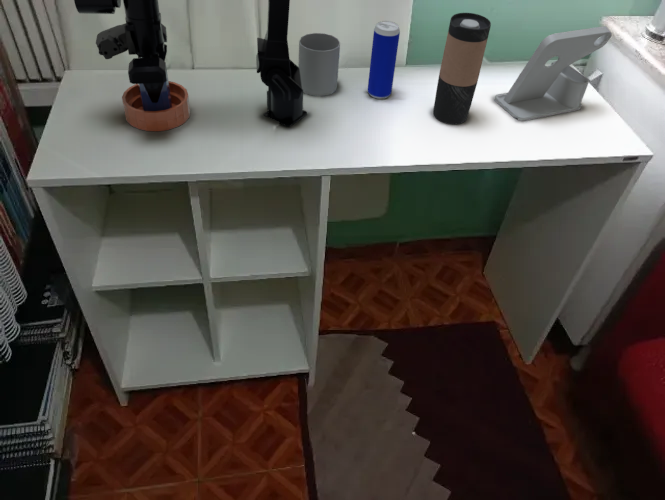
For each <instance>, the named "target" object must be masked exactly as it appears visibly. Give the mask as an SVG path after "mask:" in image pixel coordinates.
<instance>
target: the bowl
mask: <svg viewBox="0 0 665 500" xmlns="http://www.w3.org/2000/svg"><path fill="white" fill-rule="evenodd" d="M168 82H169V89H170V96H171V104H172V108H170V109H166V110H161V111H143V109H142V103H141V98H140V92H139V86H138V84H132V85H131V86H129V87H127V89H126V90H125V91H124V92H123V94H122V95H121V100H122V107H123V111H124V116H125V120H126V122H127V123H128V124H129V125H130V126H131V127H133V128H135V129H138V130H142V131H146V132H163V131H169V130H172V129H175V128H178V127H180V126H182V125H184V124H185V123H187V121H188V120H189V118H190V116H191V105H190V95H189V92H188V89H186V88H185V87H184V86H183V85H182V84H180V83H178V82H176V81H172V80H171V81H170V80H168Z"/></svg>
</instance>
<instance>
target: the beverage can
mask: <svg viewBox="0 0 665 500" xmlns="http://www.w3.org/2000/svg"><path fill="white" fill-rule="evenodd" d="M399 25H400V24H398V23H396V22H394V21H391V20H382V21H378V22H377V23H376V24H375V26H374V28H373V35H372V46H371V53H370V63H369V73H368V82H367V93H368V94H369V96H371V97H372V98H374V99H379V100H382V99H387V98H389V97H390V95H392V92H393V84H394V77H395V71H396V63H397V62H396V61H397V56H398V50H399V49H398V47H399V43H400V34H401V31H400V26H399Z"/></svg>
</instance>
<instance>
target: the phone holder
mask: <svg viewBox="0 0 665 500" xmlns="http://www.w3.org/2000/svg"><path fill="white" fill-rule="evenodd" d="M612 36H613V33H612V32H611V30H610V29H609V28H608V26H606V25H602V26H596V27H595V26H594V27H590V28H581V29H576V30H569V31H561V32H555V33H551V34H549V35H547V36H545V37H544V38H543V39H542V40H541V41H540V42H539V44H538V46H537V48H536V49H535V50H534V51H533V53H532V55H531V56H530V57H529V60H528V61H527V63H526V64H525V66H524V68H523V69H522V70H521V72H520V73H519V75H518V76H517V78H516V80H515V81H514V82H513V84H512V86H511V87H510V89H509V90H508V92H504V93H497V94H496V95H495V96H494V102H495V103H497V104H498V105H499V106H500V107H501V108H502V109H504V111H506V112H507V113H508V114H509V115H510V116H512V117H513V118H514V119H517V121H521V122H526V121H530V120H535V119H540V118H545V117H550V116H554V115H555V116H556V115H559V114H565V113H570V112H575V111H580V110H581V109H582V106H583V104H582V101H583V99H584V95H585V94H586V91H587V89H588V86H589V83H590V80H589V78H588V77H587V76H585V75H584V74H582V73H581V72H580V71H578V70H577V69H575V68H574V67H572V66H571V65H573V64H574V63H576V62H578V61H580V60H581V59H583V58H585V57H587V56H589V55H590V54H592V53H594V52H596V51H598V50H600V49H601V48H603V47H604V46H605V45H606V44H607V43H608V42H609V41H610V39H611V38H612ZM555 57H557V60H555V61H553V62H551V64H550V65H546V64H547V62H549V61H550V60H551V59H553V58H555Z"/></svg>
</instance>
